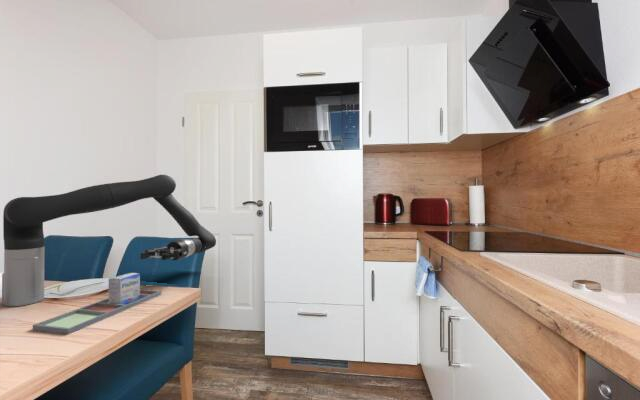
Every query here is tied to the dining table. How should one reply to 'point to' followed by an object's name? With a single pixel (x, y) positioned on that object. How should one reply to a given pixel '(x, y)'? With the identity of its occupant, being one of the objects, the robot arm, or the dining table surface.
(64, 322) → the pad
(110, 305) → the tray
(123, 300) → the medicine box
